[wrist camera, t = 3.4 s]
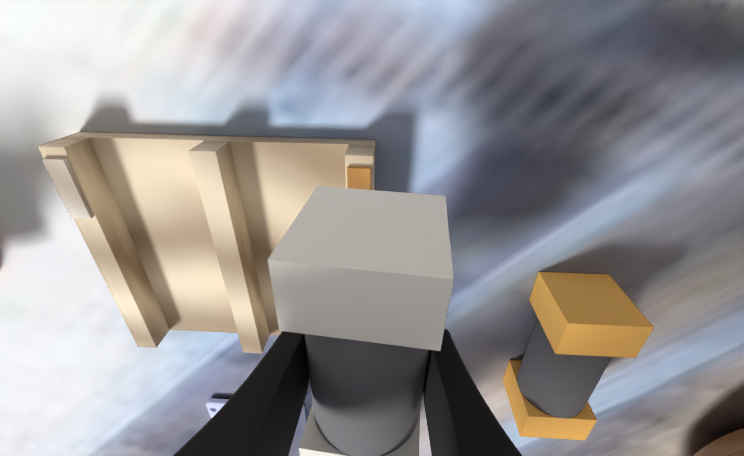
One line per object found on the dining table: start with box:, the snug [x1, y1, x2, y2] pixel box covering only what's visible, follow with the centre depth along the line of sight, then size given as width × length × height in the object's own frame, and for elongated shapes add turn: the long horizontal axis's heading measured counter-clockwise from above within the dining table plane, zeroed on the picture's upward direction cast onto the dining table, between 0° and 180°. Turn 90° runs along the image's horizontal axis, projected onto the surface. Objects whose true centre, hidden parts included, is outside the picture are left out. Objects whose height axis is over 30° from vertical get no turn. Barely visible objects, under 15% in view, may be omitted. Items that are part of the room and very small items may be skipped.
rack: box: [38, 132, 376, 353], centre depth 19 cm, size 13×15×2 cm
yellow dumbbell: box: [503, 272, 654, 440], centre depth 21 cm, size 10×4×4 cm, turn 179°
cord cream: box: [268, 186, 454, 456], centre depth 12 cm, size 10×4×4 cm, turn 179°
